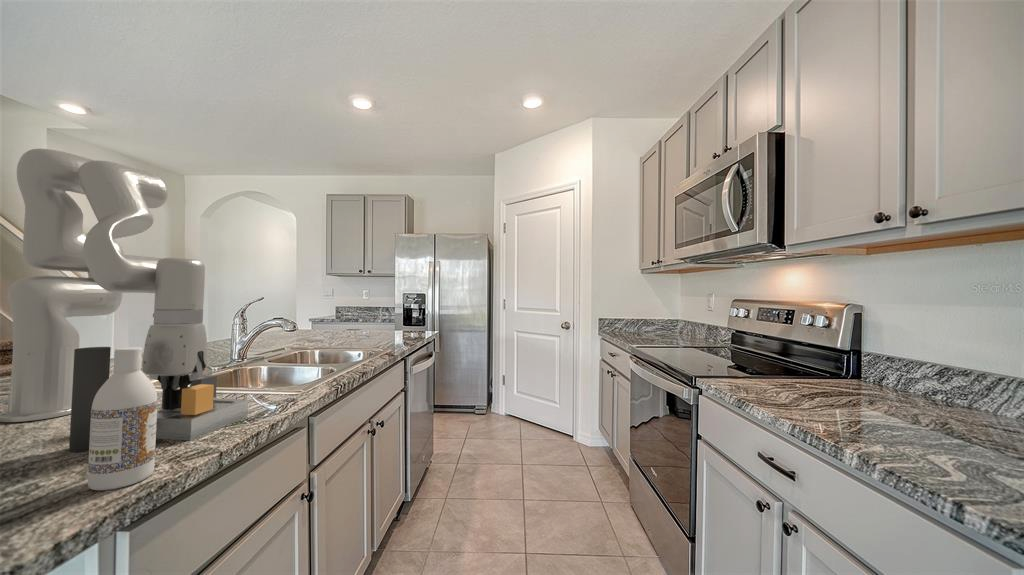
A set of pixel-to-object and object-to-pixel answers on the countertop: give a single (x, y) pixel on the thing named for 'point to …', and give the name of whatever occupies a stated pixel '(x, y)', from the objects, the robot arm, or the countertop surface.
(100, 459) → the bath foam
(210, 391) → the tab orange
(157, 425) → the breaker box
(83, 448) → the post
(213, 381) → the grey small block
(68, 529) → the countertop surface
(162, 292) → the robot arm
